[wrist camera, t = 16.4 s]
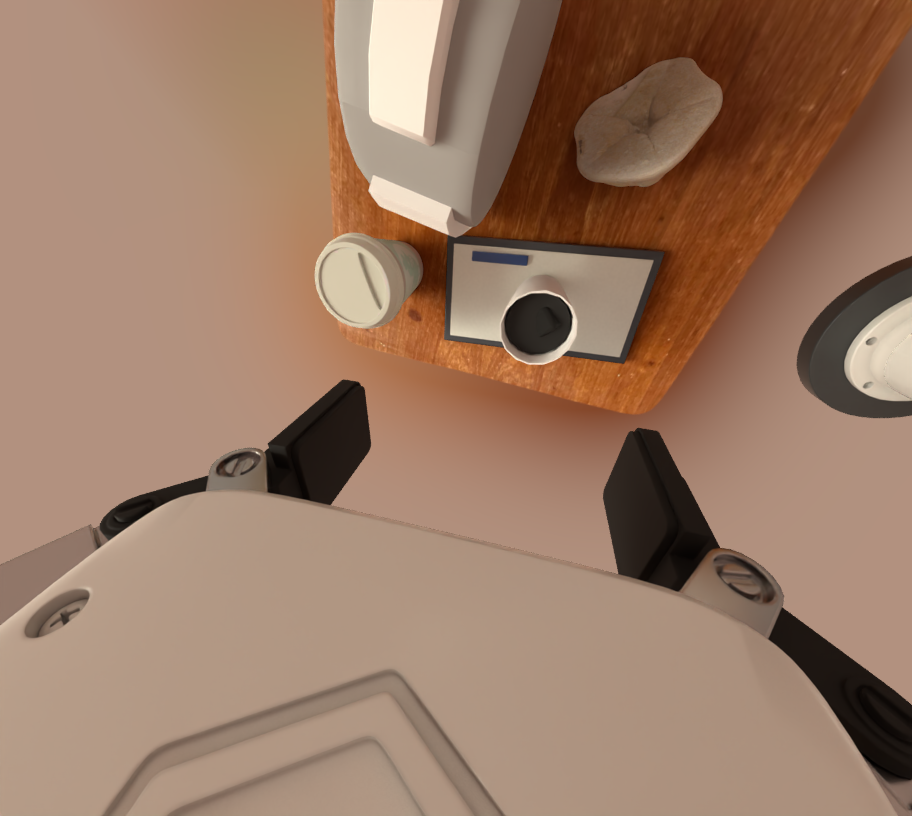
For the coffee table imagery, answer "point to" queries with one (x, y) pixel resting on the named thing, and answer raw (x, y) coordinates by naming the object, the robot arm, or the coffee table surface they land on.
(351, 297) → the coffee cup
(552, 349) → the white cup
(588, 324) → the whiteboard
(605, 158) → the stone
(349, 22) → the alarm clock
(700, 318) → the coffee table surface
